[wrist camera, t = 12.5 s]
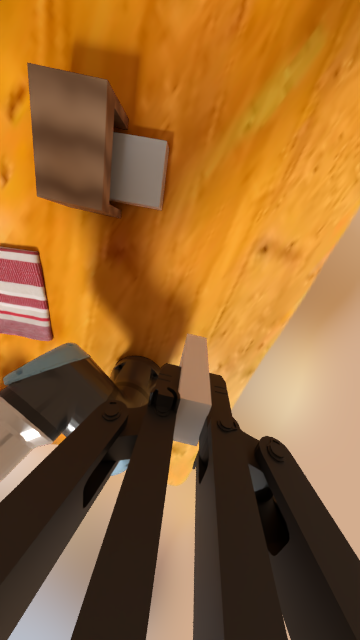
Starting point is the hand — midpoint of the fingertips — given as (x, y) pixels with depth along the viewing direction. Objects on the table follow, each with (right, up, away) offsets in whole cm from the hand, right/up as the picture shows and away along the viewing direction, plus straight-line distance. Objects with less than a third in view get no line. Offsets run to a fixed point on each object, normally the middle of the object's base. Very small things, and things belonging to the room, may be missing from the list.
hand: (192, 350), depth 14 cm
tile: (-13, +31, +22) cm, 40 cm away
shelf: (-17, +32, +21) cm, 42 cm away
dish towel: (-44, +9, +34) cm, 56 cm away
